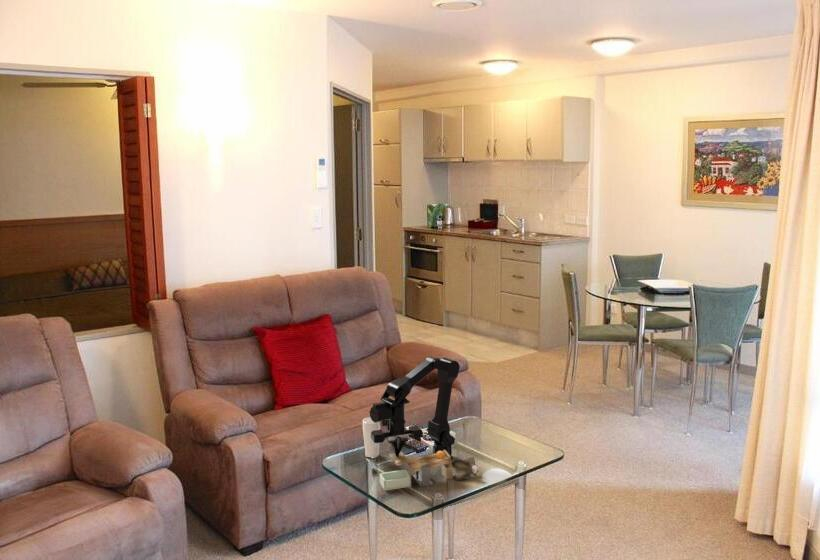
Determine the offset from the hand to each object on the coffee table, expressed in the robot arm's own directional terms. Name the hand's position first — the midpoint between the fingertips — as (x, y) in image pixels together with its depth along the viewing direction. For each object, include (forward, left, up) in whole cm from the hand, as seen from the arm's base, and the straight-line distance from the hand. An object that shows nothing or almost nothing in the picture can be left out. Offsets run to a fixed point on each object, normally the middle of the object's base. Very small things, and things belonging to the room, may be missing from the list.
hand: (396, 455), depth 272 cm
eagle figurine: (-23, +11, -7) cm, 26 cm away
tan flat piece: (-8, +5, -1) cm, 9 cm away
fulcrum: (-11, +8, -7) cm, 16 cm away
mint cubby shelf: (+3, +8, -7) cm, 11 cm away
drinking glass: (+5, -18, -7) cm, 20 cm away
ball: (-14, +8, +2) cm, 17 cm away
